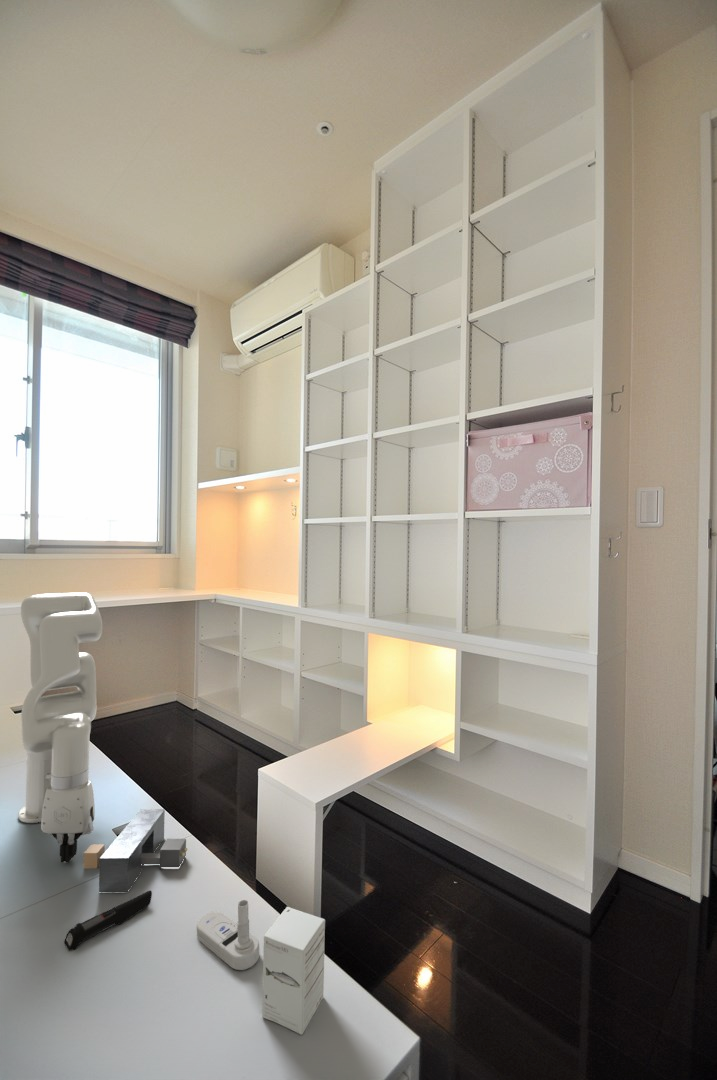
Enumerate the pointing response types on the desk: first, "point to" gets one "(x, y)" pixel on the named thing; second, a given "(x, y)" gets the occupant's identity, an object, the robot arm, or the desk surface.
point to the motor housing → (130, 850)
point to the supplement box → (293, 969)
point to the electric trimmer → (106, 920)
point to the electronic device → (230, 937)
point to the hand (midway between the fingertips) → (68, 858)
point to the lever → (144, 854)
